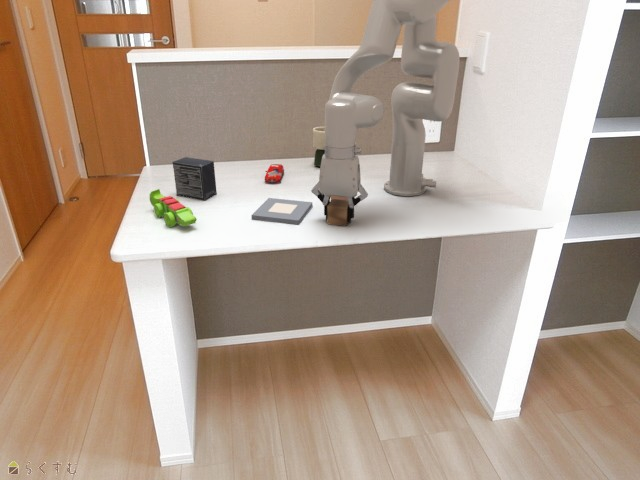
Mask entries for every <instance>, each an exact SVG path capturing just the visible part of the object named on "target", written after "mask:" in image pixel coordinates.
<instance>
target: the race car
mask: <svg viewBox="0 0 640 480" xmlns="http://www.w3.org/2000/svg"><path fill="white" fill-rule="evenodd" d="M284 167H285V166H284V165H283V164H280V163H275V164H270V165H269V167H268V169H267V170H265V176H264V183H267V184H281V182H282V180H283V177H284V175H285V168H284Z"/></svg>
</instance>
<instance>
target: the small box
mask: <svg viewBox="0 0 640 480" xmlns="http://www.w3.org/2000/svg"><path fill="white" fill-rule="evenodd" d="M214 163H215V161H214V160H208V159H201V158H196V157H195V158H193V157H189V156H188V157H186V156H185V157H181V158H180V159H176V160H174V161H172V168H173V174H174V175H173V176H174V181H175V182H174V183H175V190H176V197H182V198H188V199H192V200H193V199H194V200H197V201H203V202H205V201H207V200H209V199H211V198H213V197H214V196H216V195H217V193H218V192H217V183H216V172H215V164H214Z"/></svg>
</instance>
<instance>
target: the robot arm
mask: <svg viewBox="0 0 640 480" xmlns="http://www.w3.org/2000/svg"><path fill="white" fill-rule="evenodd" d="M450 1H451V0H372V2H371V3H372V4H371V7H370V10H369V13H368V17H367V20H366V25H365V28H364V31H363V34H362V38H361V42H360V46H359V48H358V49H357V51H355V52H354V53H353V54H352V55H351V56H350V57H349V58H348V59H347V60H346V61H345V62H344V63H343V65H342V66H341V68H340V69H339V70H338V72H337V74H336V75H335V77H334V80H333V82H332V87H331V91H330V95H329V98H328V101H327V102H326V103H325V106H324V127H325V154H324V155H323V156H322V161H321V166H319V167H320V168H319V179H318V182H317V183H316V184H315V185H314V186H313V187H312V189H311V190H310V191H311V194H314V195H315V197H317V199H318V200H319V201H320V202H321V203H322V205H323V215H324V216H325V220H326V221H327V206H328V204H329V203H330V201H331V196H340V197H347V200H348V204H349V206H348V209H347V222H348V223H350V222H351V220H352V219H354V217H355V207H356V206H357V205H358V204H360V202H361V201H363V200H365V199H366V198H367V197H368V196H369V193H368V192H367V190H366V189H365V188H364V186H363V185H362V183H361V179H362V178H361V166H360V159H359V155H360V154H362V148H361V147H357V144H356V143H357V141H356V137H357V129H365V128H368V129H369V128H373V127H375V126H377V125H378V124H379V123H380V122H381V121H382V119H383V117H384V114H385V107H384V104H383V103H382V101H381V100H380V98H377V97H375V96H373V95H367V94H360V93H354V92H353V91H352V90H353V88H354V85H355V84H356V83H357V81H358V80H359V78H361V77H362V75H364V74H366V72H369V71H370V70H373V69H374V68H377V67H379V66H381V65H384V64H386V63H387V62H390V61H391V60H392V59H393V58H394V55H395V51H396V48H397V45H398V41H399V38H400V34H401V31H402V28H403V37H402V47H401V58H400V69H401V71H402V73H404V75H406V76H408V77H413V78H419V79H428V80H433V84H431V83H425V82H417V81H404V82H401V83H398V84H397V85H396V86H395V88H393V91H392V93H391V95H390V96H391V99H390V103H391V114H392V141H391V152H390V153H391V154H390V156H391V157H390V166H389V167H390V169H389V171H390V172H389V180H388V181H386V182H384V185H383V189H384V190H385V192H387V193H388V194H391V195H395V196H398V197H399V196H400V197H401V196H402V197H416V196H419V195H423V194H424V193H425V192H426V189H427V187H429V188H433V189H436V188H437V187H436V186H437V181H436V180H434V179H433V178H426V177H424V173H423V167H424V166H423V165H424V156H425V155H424V154H425V145H426V144H425V143H426V136H427V133H426V128H425V124H424V122H423V120H425V121H432V122H437V123H438V122H444V121H446V120H447V119H448V118H450V115H451V114H452V112H453V107H454V103H455V98H456V91H457V85H458V84H457V83H458V77H459V71H460V64H461V63H460V52H459V49H458V47H457V46H456V45H455V44H454V43H452V42H449V41H436V36H437V34H436V33H437V23H438V20H437V19H438V18H437V14H438V13H439V12H440V11H441V10H442V9H443V8H444V7H445V6H447V4H449V3H450ZM403 25H404V27H403ZM358 193H359V194H360V195H358Z"/></svg>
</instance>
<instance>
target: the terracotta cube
mask: <svg viewBox="0 0 640 480" xmlns="http://www.w3.org/2000/svg"><path fill="white" fill-rule="evenodd" d="M332 199H338V200H347V197H340V196H331V197H330V201H331V200H332Z"/></svg>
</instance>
